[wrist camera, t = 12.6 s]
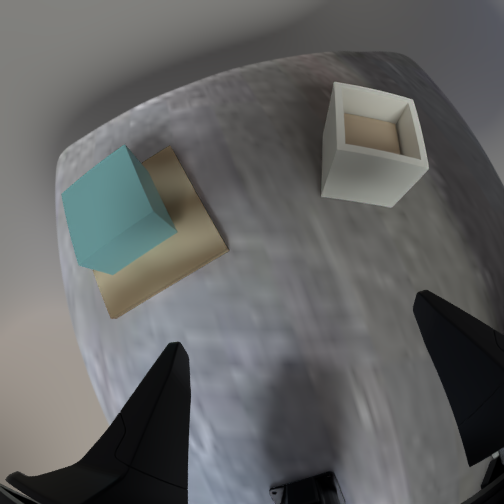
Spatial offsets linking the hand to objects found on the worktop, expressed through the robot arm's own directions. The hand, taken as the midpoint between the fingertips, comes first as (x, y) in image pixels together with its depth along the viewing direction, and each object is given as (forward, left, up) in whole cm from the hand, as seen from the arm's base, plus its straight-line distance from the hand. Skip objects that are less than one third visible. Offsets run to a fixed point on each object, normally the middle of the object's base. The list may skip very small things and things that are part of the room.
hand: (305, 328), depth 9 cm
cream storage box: (+11, -12, -14) cm, 21 cm away
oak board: (+13, +10, -14) cm, 21 cm away
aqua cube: (+13, +10, -13) cm, 21 cm away
